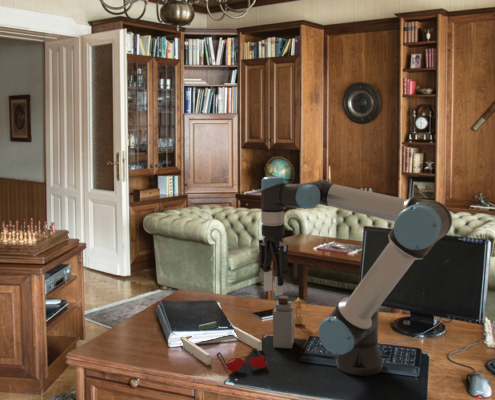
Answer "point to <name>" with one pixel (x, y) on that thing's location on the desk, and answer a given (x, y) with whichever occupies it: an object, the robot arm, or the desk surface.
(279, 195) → the robot arm
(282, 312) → the perfume bottle
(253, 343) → the display cradle
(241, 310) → the desk surface
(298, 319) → the figurine
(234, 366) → the glasses
